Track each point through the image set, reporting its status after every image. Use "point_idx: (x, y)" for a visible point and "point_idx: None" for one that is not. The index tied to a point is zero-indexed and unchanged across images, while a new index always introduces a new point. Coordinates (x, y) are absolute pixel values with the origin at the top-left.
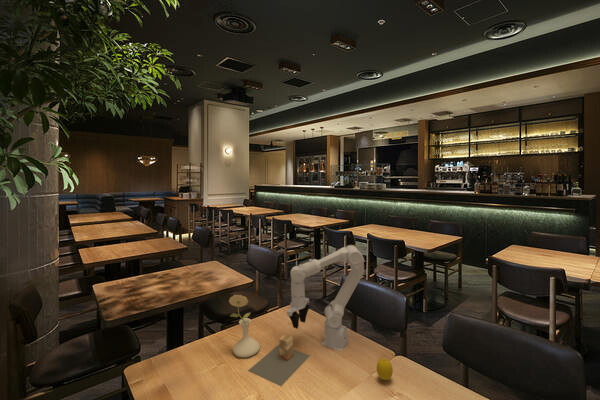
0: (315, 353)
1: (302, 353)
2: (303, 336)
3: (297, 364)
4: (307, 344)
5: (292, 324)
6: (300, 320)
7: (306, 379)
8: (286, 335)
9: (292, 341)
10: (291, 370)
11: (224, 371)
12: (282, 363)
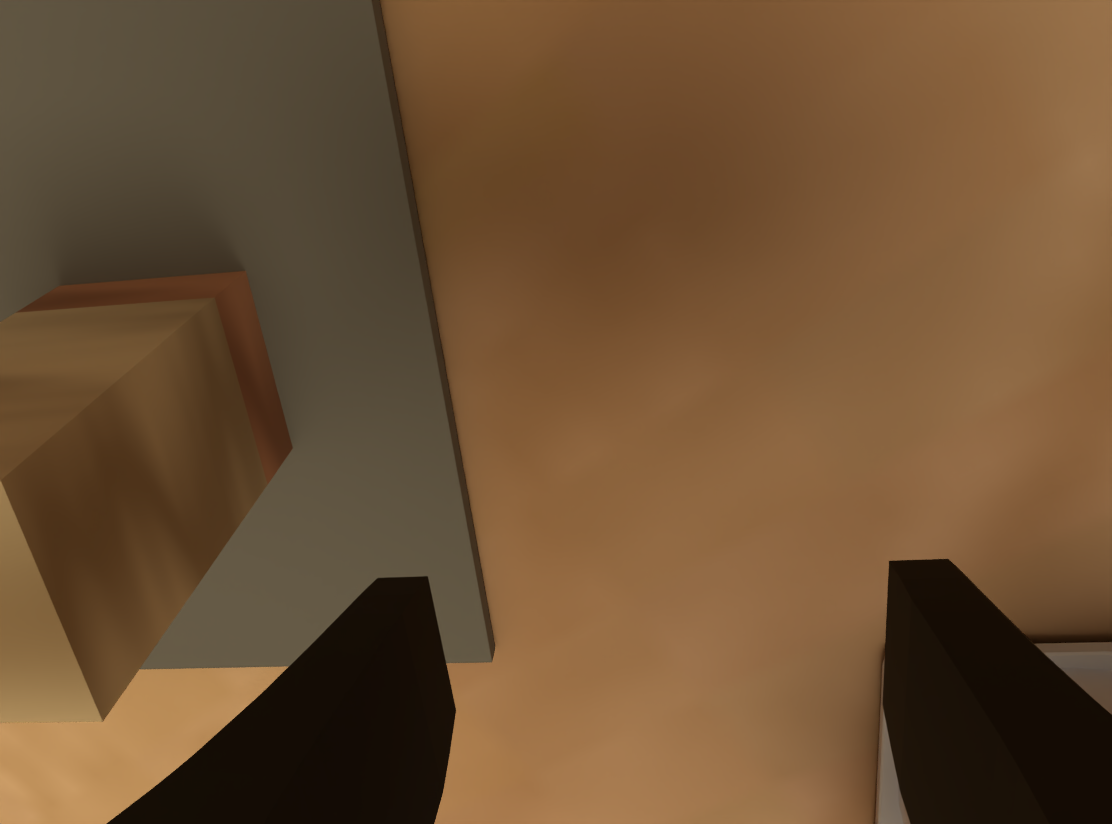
0: (616, 668)
1: (445, 540)
2: (1017, 178)
3: (183, 621)
4: (771, 431)
5: (318, 638)
6: (902, 588)
7: (108, 809)
8: (6, 556)
9: (144, 637)
10: None
11: None
12: None
